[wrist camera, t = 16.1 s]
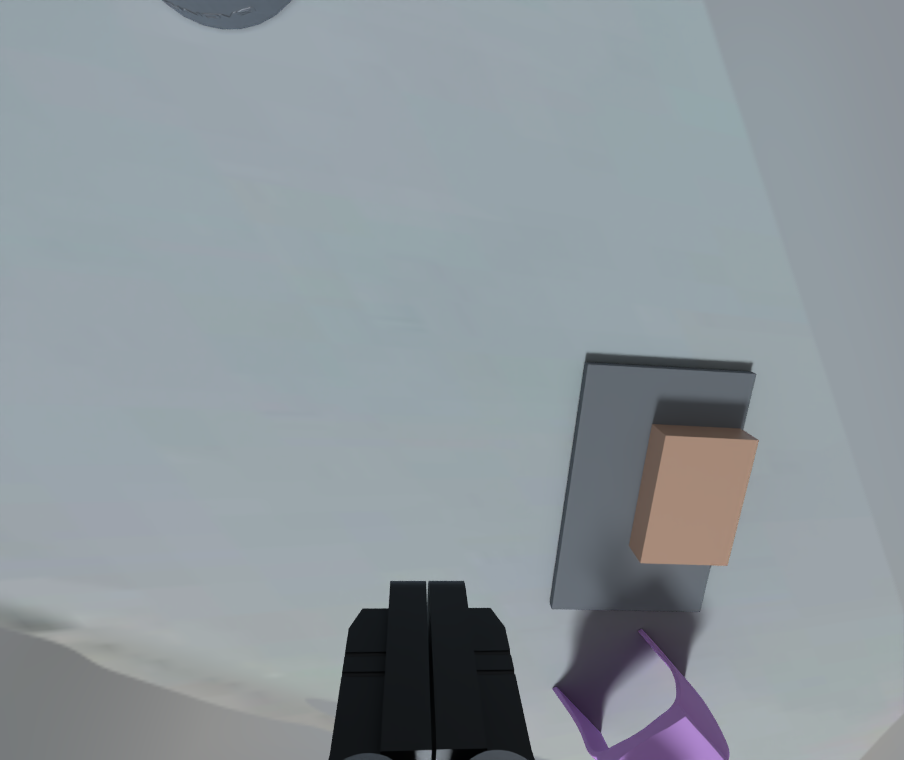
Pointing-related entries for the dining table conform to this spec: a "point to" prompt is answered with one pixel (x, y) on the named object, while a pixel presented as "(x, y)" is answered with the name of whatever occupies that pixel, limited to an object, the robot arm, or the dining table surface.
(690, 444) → the block
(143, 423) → the dining table surface
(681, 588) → the mat
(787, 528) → the dining table surface
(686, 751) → the toy chair
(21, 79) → the dining table surface
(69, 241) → the dining table surface
